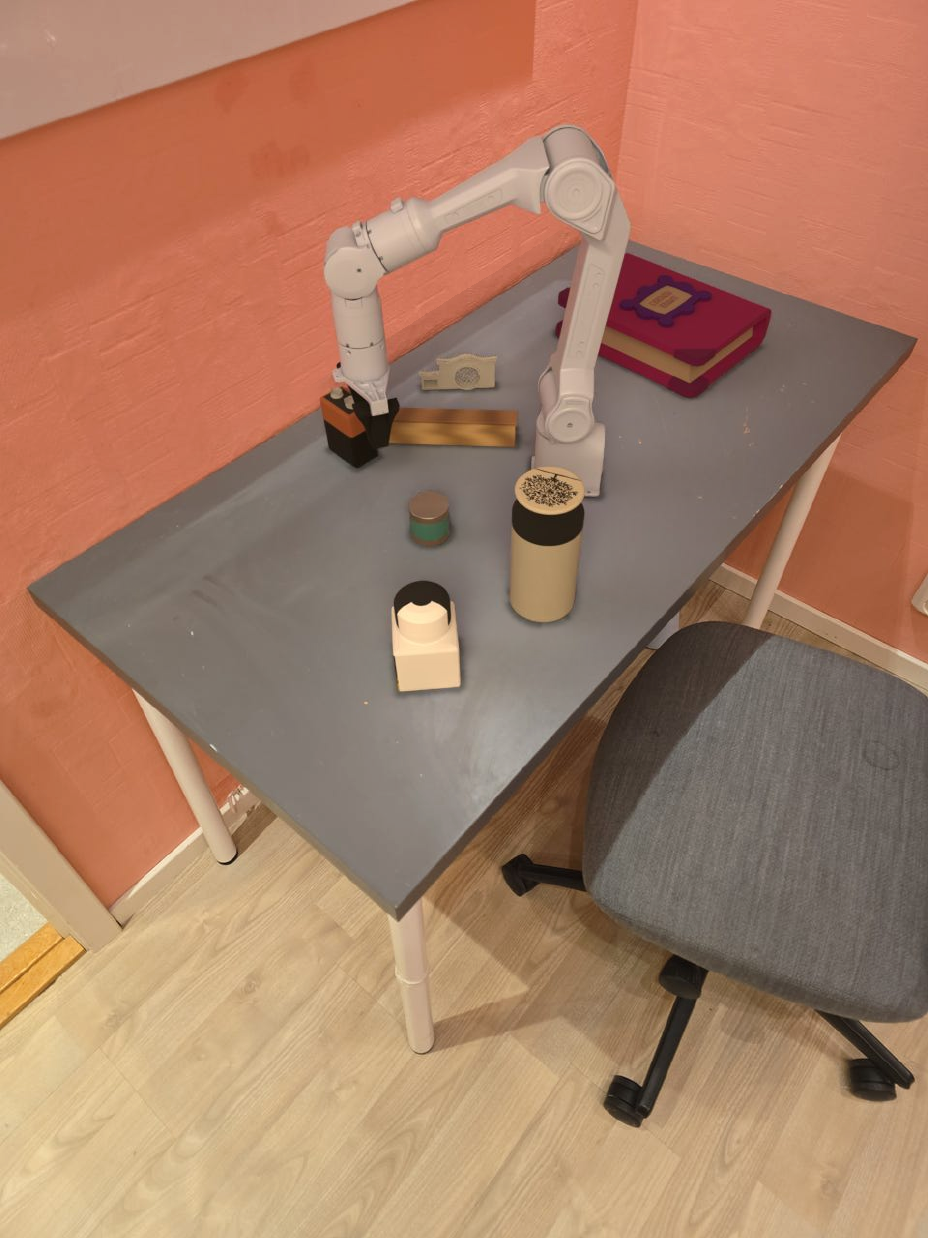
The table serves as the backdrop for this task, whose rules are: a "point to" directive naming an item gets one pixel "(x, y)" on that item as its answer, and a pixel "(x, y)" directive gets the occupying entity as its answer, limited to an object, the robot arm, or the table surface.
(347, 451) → the battery
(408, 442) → the wooden block
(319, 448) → the table surface
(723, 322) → the book
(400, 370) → the table surface
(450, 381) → the lattice window wall
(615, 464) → the table surface
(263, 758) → the table surface
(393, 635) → the cream block figurine
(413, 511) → the tin can
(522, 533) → the travel mug
